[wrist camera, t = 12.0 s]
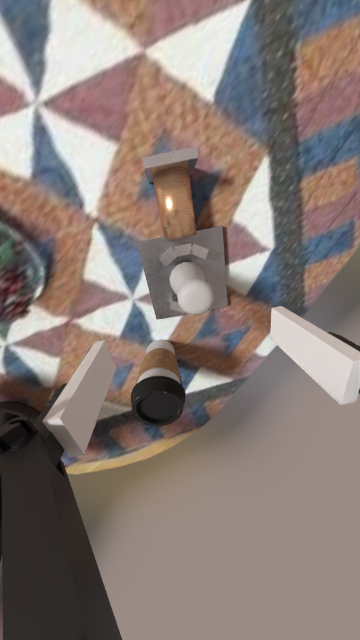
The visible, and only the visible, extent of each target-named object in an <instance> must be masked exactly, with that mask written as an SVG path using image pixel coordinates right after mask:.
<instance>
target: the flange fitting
mask: <svg viewBox="0 0 360 640" xmlns="http://www.w3.org/2000/svg"><path fill="white" fill-rule="evenodd" d="M142 160H143V165H144V169H145V172H146V175H147V178H148V181H149V183H153V182H154V188H155V193H156V198H157V203H158V208H159V213H160V218H161V223H162V229H163V234H164V237H162V238H157V239H152V240H147V241H142V242H137V245H138V249H139V252H140V256H141V260H142V264H143V268H144V272H145V276H146V280H147V284H148V288H149V291H150V295H151V299H152V303H153V307H154V311H155V315H156V319H163V318H168V317H173V316H178V315H184V314H188V313H186V312H184V311H183V309H182V308H181V307H180V305H179V304H178V298H177V294H176V293H175V292H174V291H173V289H172V288H171V285H170V280H169V279H170V275H171V272H172V270H173V269H174V268H175V267H176V266H177V265H178V264H181V263H183V262H193V263H195V264H196V265H198V266H200V268H201V269H202V271H203V273H204V277H205V281H206V282H208V283H209V284H210V286H211V288H212V289H213V292H214V301H213V303H212V306H211V308H209V309H208V310H210V309H215V308H221V307H226V306H228V302H227V287H226V272H225V258H224V243H223V228H222V226H218V227H213V228H208V229H203V230H198V231H196V224H195V216H194V208H193V200H192V192H191V183H190V175H192V172H193V170H194V167H195V165H196V162H197V160H198V150H197V147H193V148H188V149H183V150H178V151H173V152H168V153H163V154H158V155H153V156H148V157H143V158H142Z"/></svg>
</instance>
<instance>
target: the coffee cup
mask: <svg viewBox="0 0 360 640" xmlns="http://www.w3.org/2000/svg"><path fill="white" fill-rule="evenodd" d="M131 403H132V412H133V414H134V416H135V417H136V418H137V419H138V420H139V421H141V422H142V423H145V424H147V425H151V426H165V425H168V424H171V423H173V422H174V421H176V420H177V419H178V418H179V417H180V416H181V414H182V411H183V406H184V403H185V390H184V388H183V386H182V381H181V377H180V372H179V368H178V364H177V360H176V356H175V351H174V347H173V345H172V344H171V343H170V342H168V341H166V340H156V341H154V342H152V343H151V344H150V345H149V346H148V348H147V352H146V355H145V358H144V360H143V363H142V366H141V369H140V372H139V375H138V378H137V381H136V385H135V386H134V388H133V390H132V393H131Z"/></svg>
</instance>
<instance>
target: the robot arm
mask: <svg viewBox="0 0 360 640" xmlns="http://www.w3.org/2000/svg"><path fill="white" fill-rule="evenodd" d="M270 338H271V339H272V340H273V341H274V342H275V343H276V344H277V345H278V346H279V347H280V348H281V349H282V350H283V351H284V352H285V353H286V354H287V355H289V356H290V357H291V358H292V359H293V360H294V361H295V362H296V363H297V364H298V365H299V366H300V367H301V368H302V369H303V370H304V371H305V372H307V373H308V374H309V375H310V376H311V377H312V378H313V379H314V380H315V381H316V382H317V383H318V384H320V386H321V387H322V388H324V389H325V390H326V391H327V392H328V393H329V394H330V395H331V396H332V397H333V398H334V399H335V400H336V401H337V402H338V403H339V404H340V405H343V404H348V403H353V402H356V400H357V397H358V394H359V393H360V346H358V345H356V344H355V343H353V342H351V341H349V340H347V339H346V338H344V337H342V336H340V335H337V334H334V333H331V332H325V331H323V330H321V329H320V328H318V327H316V326H315V325H313V324H311V323H310V322H308V321H306V320H304V319H303V318H301V317H299V316H298V315H296V314H294V313H292V312H291V311H289V310H287V309H286V308H284V307H282V306H279V307H274V308H272V311H271V334H270ZM115 370H116V366H115V364H114V361H113V359H112V357H111V354H110V352H109V349H108V347H107V345H106V342H105V340H104V341H99V342H95V343H94V345H93V346H92V348H91V349H90V351H89V352H88V354H87V355H86V357H85V358H84V360H83V361H82V363H81V364H80V366H79V367H78V369H77V370H76V372H75V373H74V375H73V376H72V378H71V379H70V381H69V382H68V383H67V384H64V385H62V386H61V387H60V388H59V389H58V390H57V391H56V392H55V394H54V395H53V396H52V398H51V400H50V401H49V402H48V404H47V406H45V408H44V409H43V411H42V412H41V413H39V412H38V411H36V410H35V409H33V408H31V407H29V406H26V405H23V404H20V403H15V402H0V561H1V557H2V574H3V575H2V577H3V578H2V580H3V640H122V638H121V635H120V632H119V629H118V626H117V623H116V620H115V617H114V614H113V611H112V608H111V605H110V602H109V599H108V596H107V593H106V590H105V587H104V584H103V581H102V578H101V575H100V572H99V569H98V566H97V563H96V560H95V557H94V554H93V551H92V548H91V545H90V542H89V539H88V536H87V533H86V530H85V527H84V524H83V521H82V518H81V515H80V512H79V509H78V506H77V503H76V500H75V497H74V494H73V491H72V488H71V485H70V482H69V479H68V476H67V473H66V470H65V466H64V463H63V462H62V461H61V456H62V454H63V452H64V451H65V452H66V453H67V455H68V456H69V457H74V456H79V455H84V454H85V451H86V449H87V446H88V443H89V441H90V438H91V435H92V433H93V430H94V427H95V424H96V422H97V419H98V416H99V414H100V411H101V408H102V405H103V403H104V400H105V397H106V395H107V392H108V389H109V387H110V384H111V381H112V378H113V376H114V373H115Z"/></svg>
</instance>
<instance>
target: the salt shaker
mask: <svg viewBox="0 0 360 640" xmlns="http://www.w3.org/2000/svg"><path fill="white" fill-rule="evenodd" d="M169 280H170V285H171V288H172V289H173V291H174V292H175V293H176V294H177V298H178V304H179V305H180V307H181V308H182V309H183V311H184V312H186V313H188V314H190V315H200V314H202V313H205V312H206V311H207V310H208V309H209V308H211V306H212V303H213V301H214V292H213V289H212V288H211V286H210V284H209V283H208V282H206V281H205V277H204V273H203V271H202V269H201V268H200V266H198V265H196V264H195V263H193V262H183V263H181V264H178V265H177V266H176V267H175V268H174V269H173V270H172V272H171V275H170V279H169Z"/></svg>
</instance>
